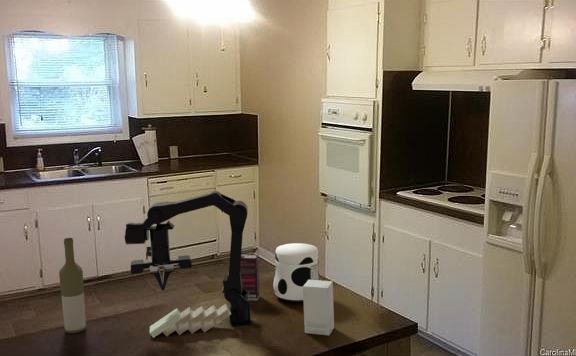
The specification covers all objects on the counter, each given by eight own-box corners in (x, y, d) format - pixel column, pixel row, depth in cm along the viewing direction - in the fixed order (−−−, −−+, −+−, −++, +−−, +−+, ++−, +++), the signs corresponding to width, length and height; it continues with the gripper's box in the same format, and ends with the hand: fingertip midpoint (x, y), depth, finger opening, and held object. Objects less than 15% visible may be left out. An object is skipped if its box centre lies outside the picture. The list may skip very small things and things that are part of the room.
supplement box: (259, 296, 205) (258, 254, 202) (257, 300, 200) (256, 258, 197) (236, 295, 206) (235, 253, 203) (234, 300, 201) (232, 257, 198)
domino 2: (166, 329, 177) (192, 311, 178) (166, 336, 172) (193, 317, 173) (162, 325, 176) (189, 306, 177) (162, 331, 172) (190, 312, 173)
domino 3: (178, 328, 178) (205, 310, 179) (179, 335, 173) (206, 316, 174) (175, 323, 177) (201, 305, 178) (175, 330, 172) (203, 311, 173)
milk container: (271, 289, 211) (270, 243, 208) (316, 287, 213) (316, 241, 210) (275, 307, 194) (274, 257, 191) (324, 304, 196) (324, 254, 193)
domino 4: (190, 327, 179) (217, 309, 180) (191, 333, 174) (218, 315, 175) (187, 322, 178) (213, 304, 179) (188, 329, 173) (215, 310, 174)
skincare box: (334, 328, 176) (334, 280, 174) (329, 337, 170) (329, 288, 168) (309, 324, 179) (308, 278, 177) (302, 333, 173) (302, 285, 170)
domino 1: (153, 331, 176) (180, 313, 177) (153, 337, 171) (181, 319, 172) (149, 326, 176) (176, 308, 177) (149, 333, 171) (177, 314, 172)
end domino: (203, 326, 179) (229, 308, 180) (204, 332, 175) (231, 314, 176) (199, 321, 179) (226, 303, 180) (200, 327, 174) (227, 309, 175)
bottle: (76, 336, 173) (69, 242, 168) (58, 333, 176) (50, 240, 171) (91, 327, 180) (85, 236, 175) (74, 324, 182) (67, 235, 177)
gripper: (187, 234, 187) (190, 278, 189) (130, 239, 182) (133, 285, 185) (190, 242, 176) (193, 290, 178) (129, 248, 172) (132, 296, 174)
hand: (163, 290), depth 179 cm, fingers closed
